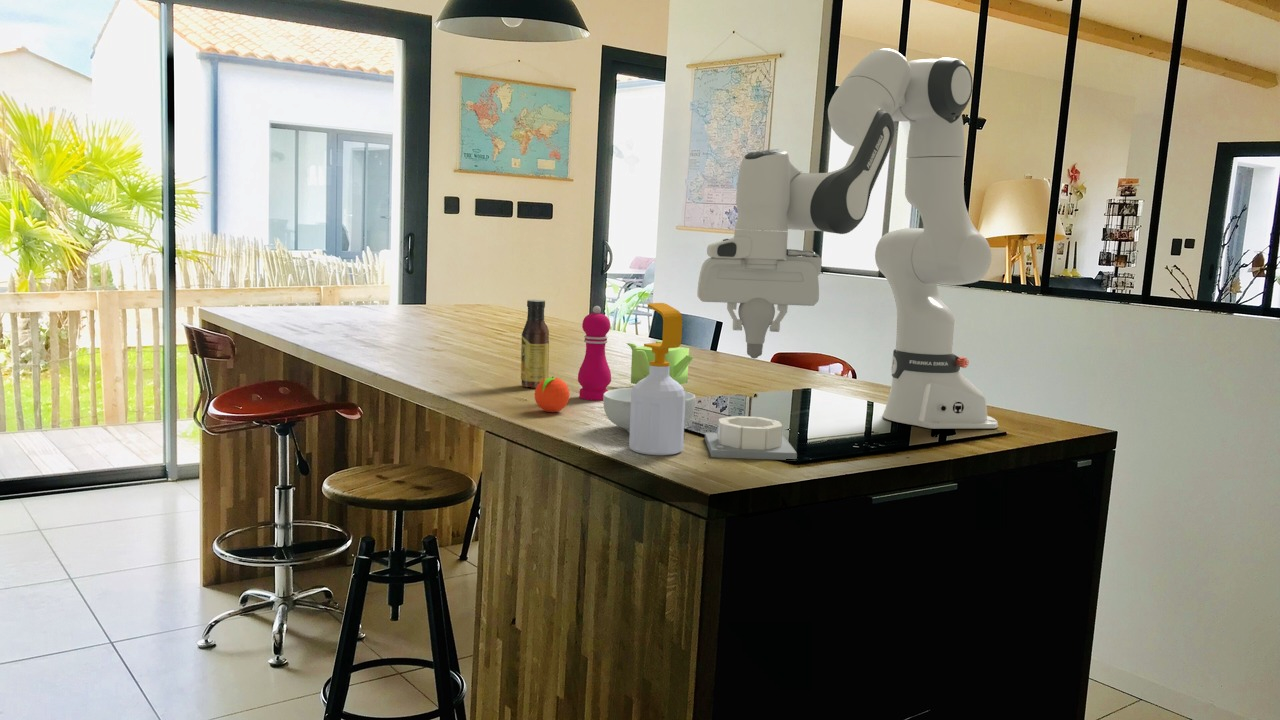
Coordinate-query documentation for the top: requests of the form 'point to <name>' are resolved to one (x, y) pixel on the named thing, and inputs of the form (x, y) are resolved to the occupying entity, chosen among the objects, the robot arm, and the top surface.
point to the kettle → (675, 357)
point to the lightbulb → (756, 323)
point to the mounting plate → (748, 450)
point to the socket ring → (749, 432)
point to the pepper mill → (595, 357)
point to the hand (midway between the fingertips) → (755, 330)
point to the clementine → (552, 394)
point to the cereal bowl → (620, 406)
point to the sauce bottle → (534, 346)
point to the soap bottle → (659, 396)
